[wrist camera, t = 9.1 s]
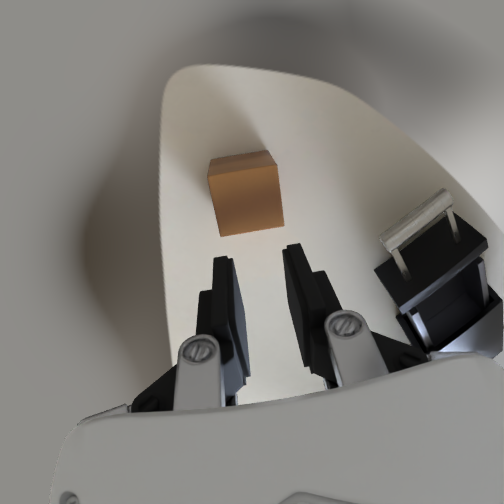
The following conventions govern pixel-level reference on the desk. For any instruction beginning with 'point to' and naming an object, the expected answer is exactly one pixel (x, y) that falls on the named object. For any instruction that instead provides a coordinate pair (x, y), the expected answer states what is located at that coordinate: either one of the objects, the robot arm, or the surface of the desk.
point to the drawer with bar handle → (435, 270)
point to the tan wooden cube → (245, 193)
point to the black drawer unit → (468, 331)
